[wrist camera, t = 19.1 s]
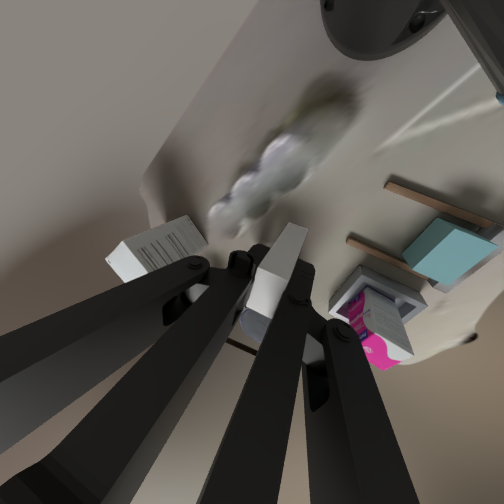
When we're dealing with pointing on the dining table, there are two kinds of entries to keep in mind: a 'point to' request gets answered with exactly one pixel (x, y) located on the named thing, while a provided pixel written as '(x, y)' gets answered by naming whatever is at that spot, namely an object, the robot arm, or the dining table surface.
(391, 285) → the tray
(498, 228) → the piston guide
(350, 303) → the supplement box
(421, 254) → the block
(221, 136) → the dining table surface
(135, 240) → the supplement box
